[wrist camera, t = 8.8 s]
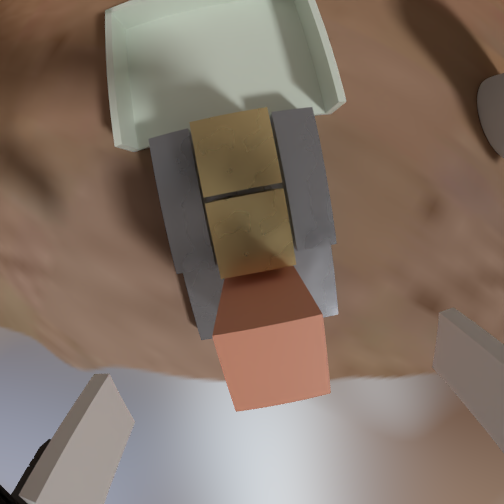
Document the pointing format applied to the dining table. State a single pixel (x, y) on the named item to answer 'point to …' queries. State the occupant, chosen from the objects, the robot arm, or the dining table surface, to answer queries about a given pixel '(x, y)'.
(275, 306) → the salmon pink flat-faced block
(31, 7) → the dining table surface
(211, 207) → the chip
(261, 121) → the chip
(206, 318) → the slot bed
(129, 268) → the dining table surface
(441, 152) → the dining table surface
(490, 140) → the mug
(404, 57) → the dining table surface
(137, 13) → the tray
